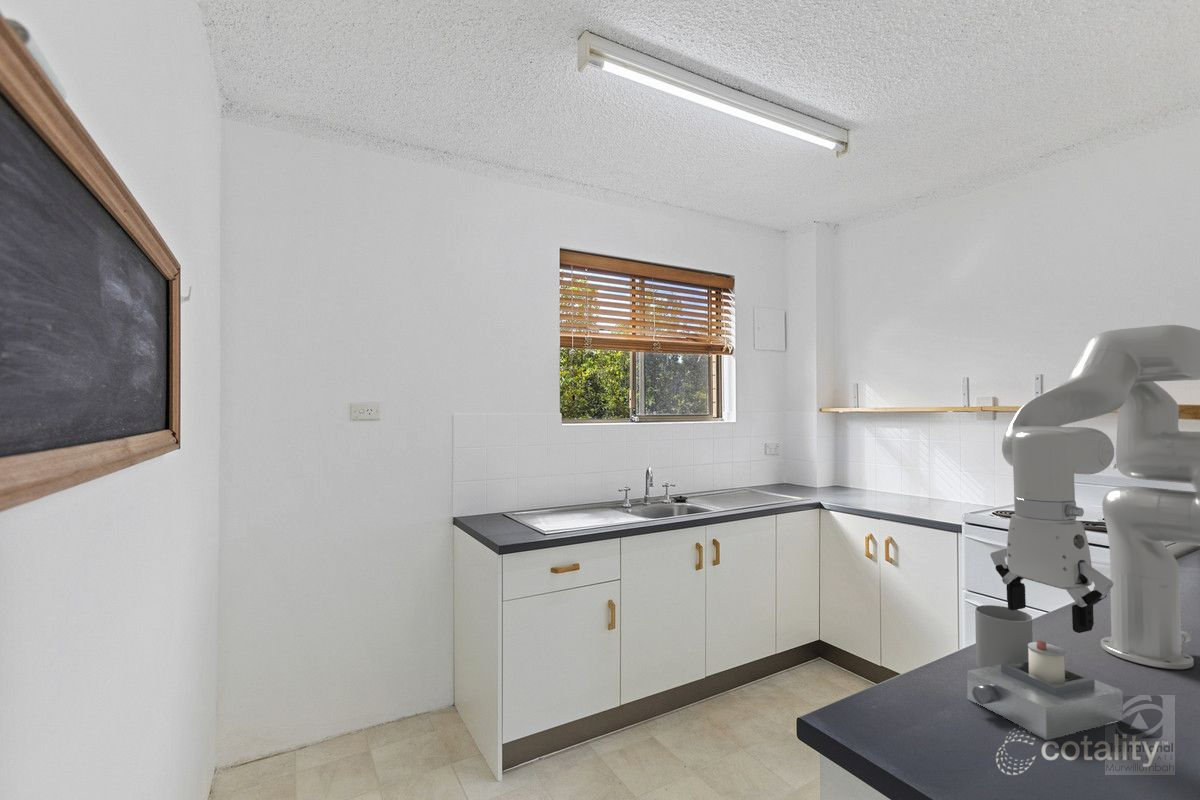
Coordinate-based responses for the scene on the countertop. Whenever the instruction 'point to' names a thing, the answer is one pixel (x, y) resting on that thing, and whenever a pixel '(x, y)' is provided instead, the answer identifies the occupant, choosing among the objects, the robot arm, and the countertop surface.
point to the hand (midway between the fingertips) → (1048, 619)
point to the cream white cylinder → (1046, 662)
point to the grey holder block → (1044, 699)
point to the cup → (1001, 635)
